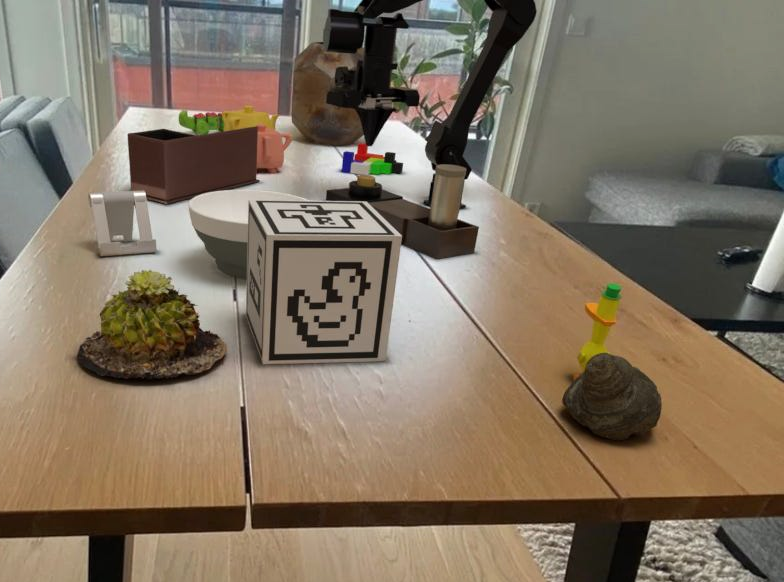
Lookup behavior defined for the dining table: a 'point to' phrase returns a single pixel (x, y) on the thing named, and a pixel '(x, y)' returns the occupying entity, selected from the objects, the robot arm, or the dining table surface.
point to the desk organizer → (191, 162)
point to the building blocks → (370, 162)
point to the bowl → (228, 225)
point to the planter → (323, 97)
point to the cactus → (150, 333)
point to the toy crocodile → (202, 122)
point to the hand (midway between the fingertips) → (368, 145)
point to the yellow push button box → (361, 193)
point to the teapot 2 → (271, 148)
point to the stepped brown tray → (427, 230)
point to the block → (320, 280)
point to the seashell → (613, 398)
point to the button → (366, 180)
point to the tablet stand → (121, 221)
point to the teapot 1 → (247, 119)
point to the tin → (446, 196)
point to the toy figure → (600, 323)
